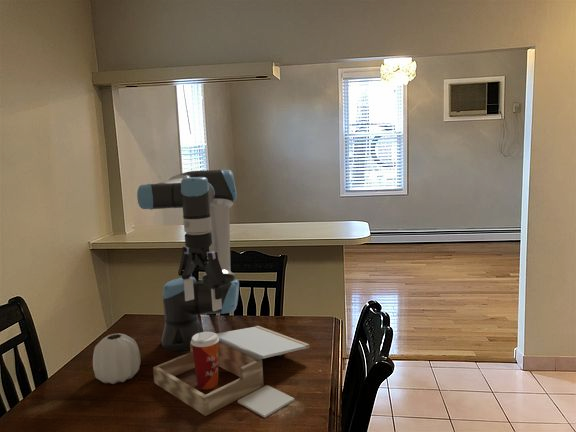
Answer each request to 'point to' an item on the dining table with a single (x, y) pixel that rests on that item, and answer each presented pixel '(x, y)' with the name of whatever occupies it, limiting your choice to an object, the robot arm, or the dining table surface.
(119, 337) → the vase
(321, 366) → the dining table surface
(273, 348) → the lid
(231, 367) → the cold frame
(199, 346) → the coffee cup
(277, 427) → the dining table surface
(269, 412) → the stone tile
